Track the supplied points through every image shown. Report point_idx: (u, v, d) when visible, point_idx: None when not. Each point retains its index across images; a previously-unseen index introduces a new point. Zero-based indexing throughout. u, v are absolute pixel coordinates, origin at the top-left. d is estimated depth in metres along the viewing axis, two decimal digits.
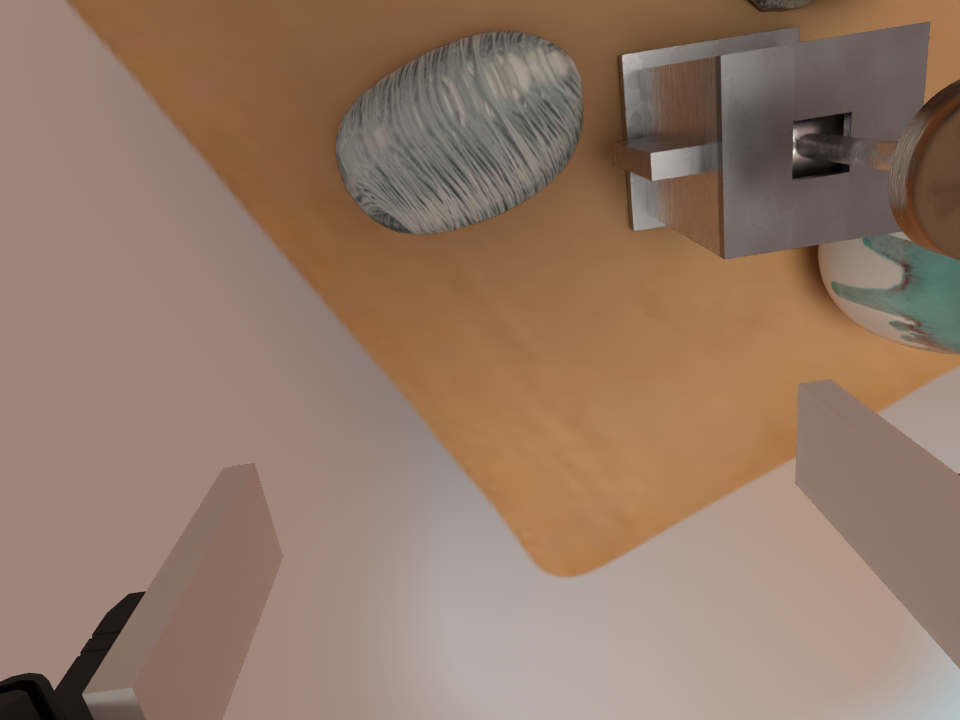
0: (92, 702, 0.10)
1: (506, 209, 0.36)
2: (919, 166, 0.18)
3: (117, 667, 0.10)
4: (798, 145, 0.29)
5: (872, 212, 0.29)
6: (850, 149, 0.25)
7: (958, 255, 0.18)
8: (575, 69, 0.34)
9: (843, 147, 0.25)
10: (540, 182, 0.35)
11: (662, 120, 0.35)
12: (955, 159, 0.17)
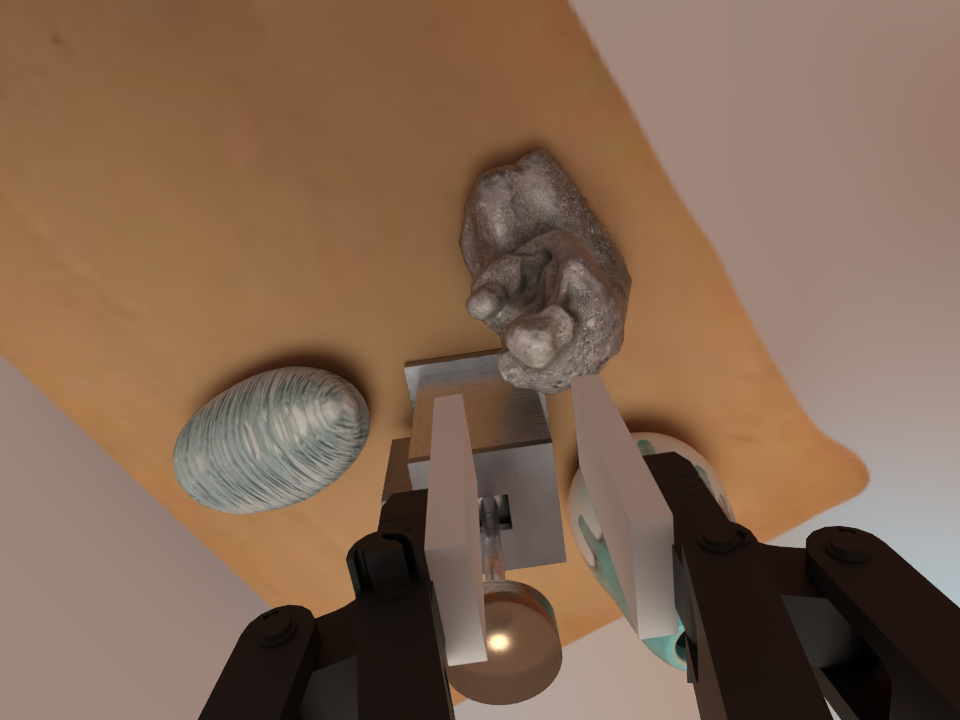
0: (432, 557, 0.12)
1: (305, 499, 0.47)
2: None
3: (442, 532, 0.12)
4: (480, 505, 0.40)
5: (534, 552, 0.40)
6: (484, 544, 0.36)
7: (469, 697, 0.30)
8: (348, 409, 0.45)
9: (483, 538, 0.37)
10: (329, 482, 0.46)
11: None
12: None
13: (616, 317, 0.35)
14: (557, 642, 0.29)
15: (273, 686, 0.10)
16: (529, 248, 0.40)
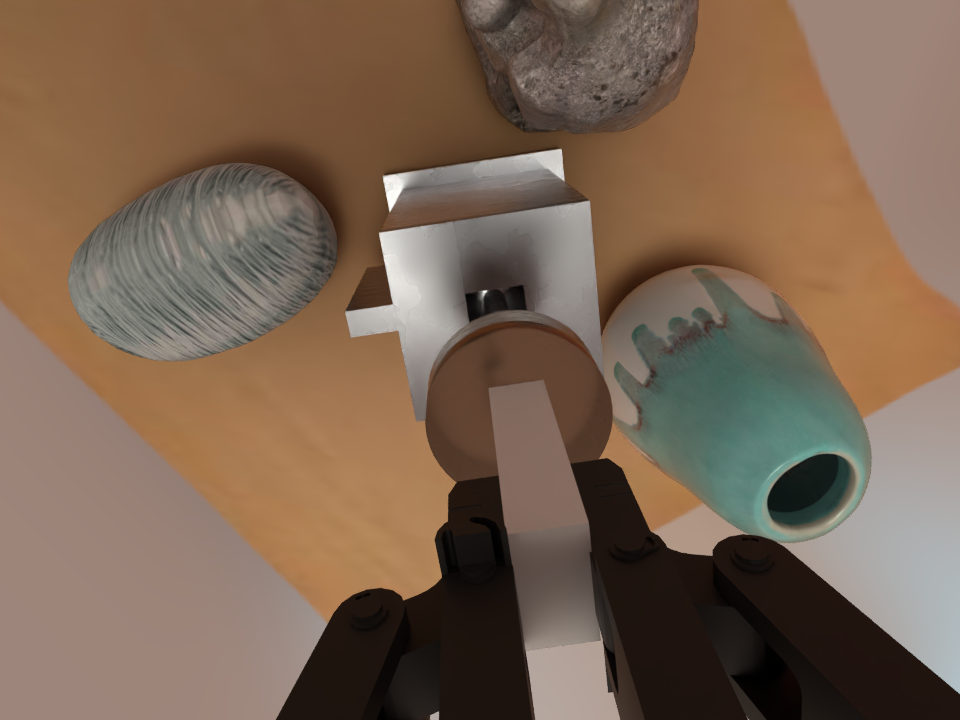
0: (513, 542, 0.12)
1: (250, 340, 0.35)
2: (426, 407, 0.19)
3: (521, 517, 0.12)
4: (483, 299, 0.30)
5: None
6: None
7: None
8: (303, 207, 0.33)
9: None
10: (281, 315, 0.35)
11: None
12: (440, 410, 0.18)
13: None
14: (606, 390, 0.18)
15: (362, 669, 0.10)
16: None
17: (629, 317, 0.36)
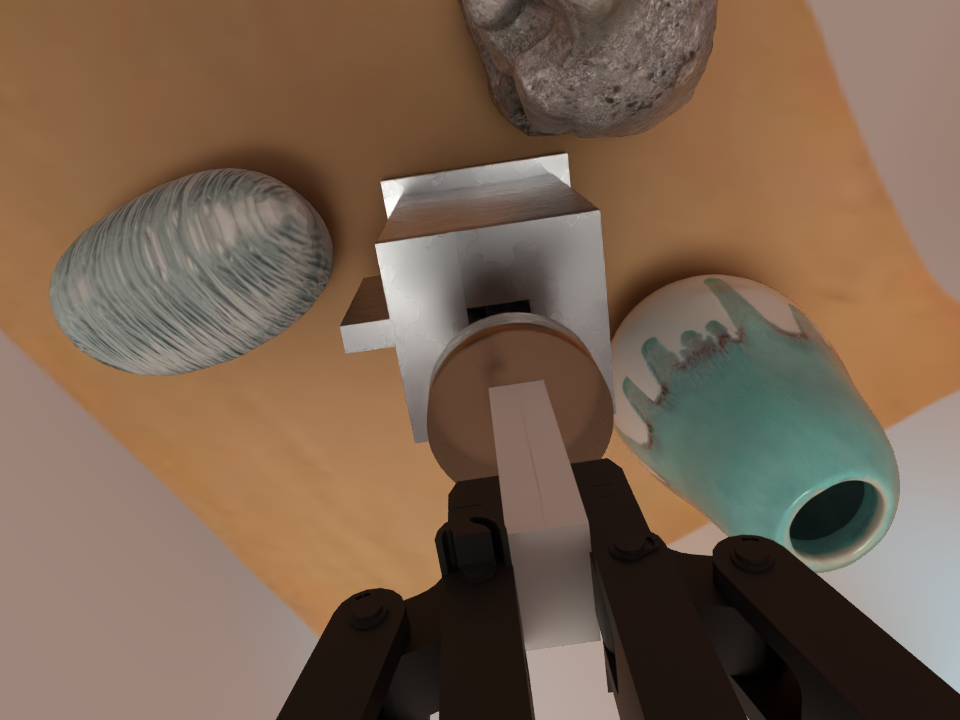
0: (513, 541, 0.12)
1: (241, 354, 0.34)
2: None
3: (521, 517, 0.12)
4: None
5: None
6: None
7: None
8: (297, 215, 0.31)
9: None
10: (273, 328, 0.33)
11: None
12: (441, 412, 0.18)
13: None
14: (607, 392, 0.18)
15: (362, 669, 0.10)
16: None
17: (638, 330, 0.34)
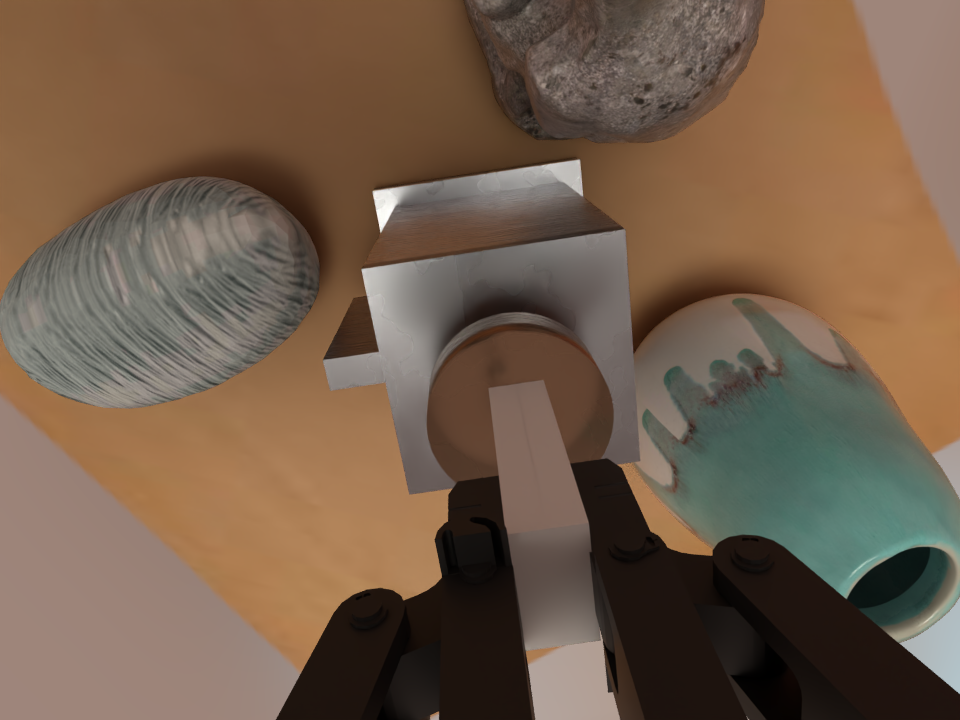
0: (513, 541, 0.12)
1: (215, 384, 0.30)
2: None
3: (521, 517, 0.12)
4: None
5: None
6: None
7: None
8: (277, 230, 0.28)
9: None
10: (251, 356, 0.29)
11: None
12: (441, 412, 0.18)
13: None
14: (607, 392, 0.18)
15: (362, 669, 0.10)
16: None
17: (660, 357, 0.31)
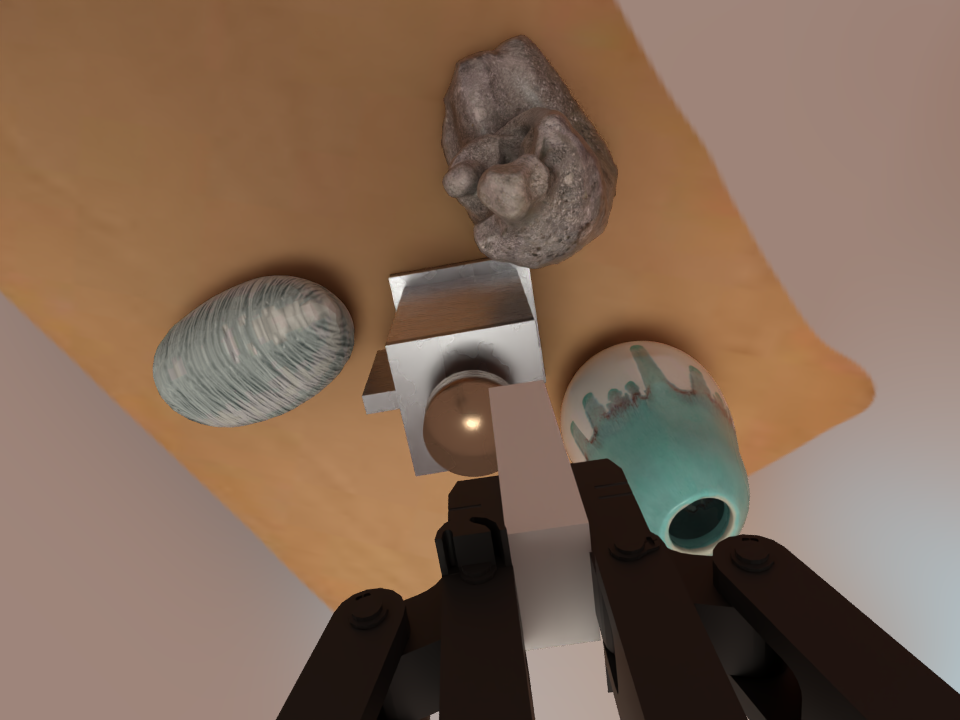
0: (513, 541, 0.12)
1: (289, 410, 0.46)
2: None
3: (521, 517, 0.12)
4: None
5: None
6: None
7: (448, 469, 0.35)
8: (329, 312, 0.44)
9: None
10: (312, 391, 0.45)
11: None
12: (431, 426, 0.34)
13: (596, 178, 0.34)
14: None
15: (362, 669, 0.10)
16: (508, 128, 0.39)
17: (581, 386, 0.46)
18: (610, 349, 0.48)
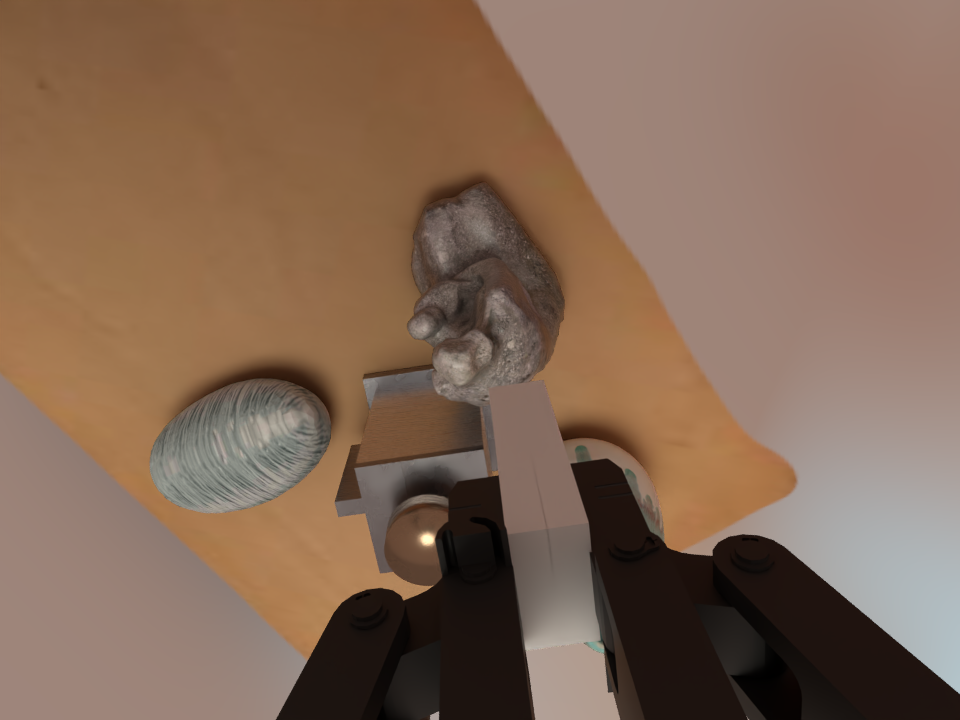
0: (513, 541, 0.12)
1: (271, 499, 0.52)
2: None
3: (521, 517, 0.12)
4: None
5: None
6: None
7: (405, 579, 0.41)
8: (308, 417, 0.49)
9: None
10: (292, 484, 0.51)
11: None
12: (391, 545, 0.40)
13: (535, 339, 0.39)
14: None
15: (362, 669, 0.10)
16: (466, 274, 0.45)
17: None
18: None
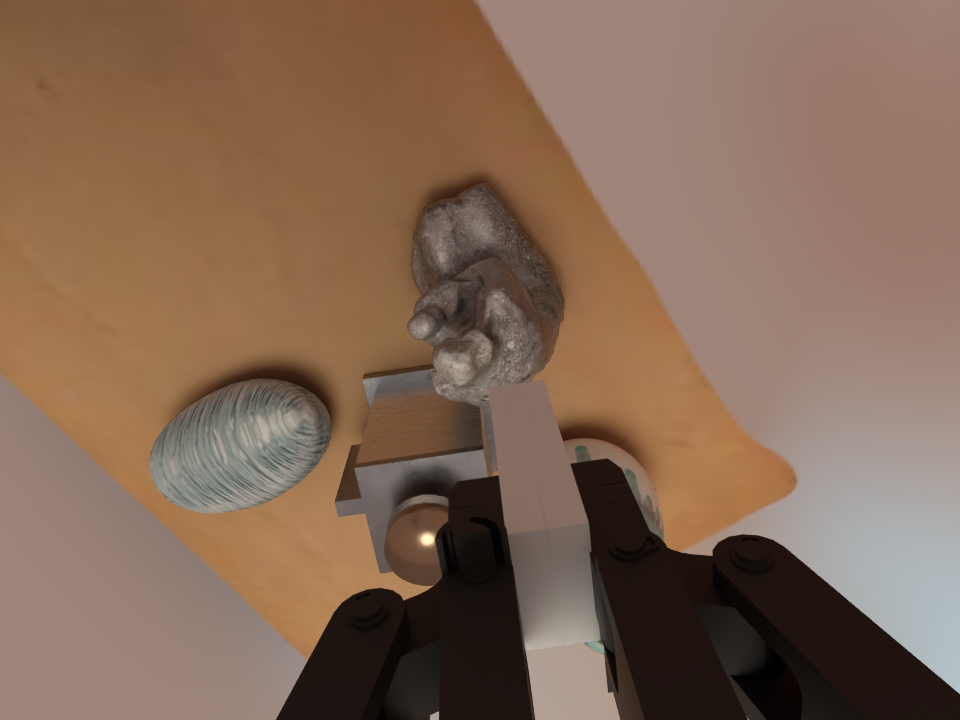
0: (513, 541, 0.12)
1: (271, 499, 0.52)
2: None
3: (521, 517, 0.12)
4: None
5: None
6: None
7: (405, 579, 0.41)
8: (308, 418, 0.49)
9: None
10: (292, 485, 0.51)
11: None
12: (391, 545, 0.40)
13: (536, 339, 0.39)
14: None
15: (362, 669, 0.10)
16: (466, 274, 0.45)
17: None
18: None
